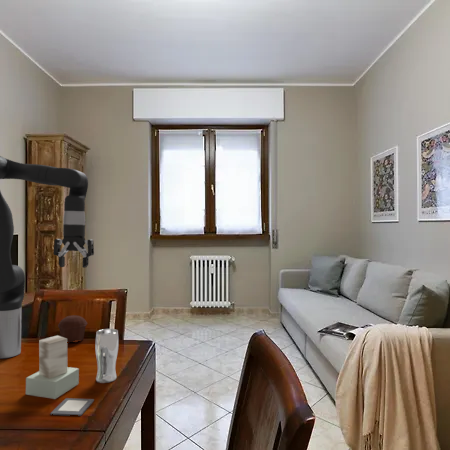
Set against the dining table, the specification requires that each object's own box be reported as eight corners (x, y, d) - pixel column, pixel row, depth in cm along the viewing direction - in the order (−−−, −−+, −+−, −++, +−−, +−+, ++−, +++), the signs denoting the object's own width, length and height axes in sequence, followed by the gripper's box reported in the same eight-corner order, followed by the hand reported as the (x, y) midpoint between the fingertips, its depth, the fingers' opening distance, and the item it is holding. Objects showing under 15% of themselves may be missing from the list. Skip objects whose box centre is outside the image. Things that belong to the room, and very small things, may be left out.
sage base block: (25, 395, 101) (25, 377, 101) (51, 380, 110) (51, 364, 110) (55, 400, 98) (55, 382, 98) (78, 384, 108) (78, 368, 108)
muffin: (51, 342, 146) (51, 318, 146) (69, 334, 157) (69, 312, 157) (76, 345, 143) (76, 320, 143) (92, 337, 154) (93, 314, 154)
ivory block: (39, 374, 103) (39, 340, 103) (57, 367, 108) (57, 335, 108) (49, 378, 100) (49, 343, 100) (67, 372, 105) (67, 338, 105)
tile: (50, 414, 90) (50, 412, 90) (65, 399, 98) (65, 397, 98) (81, 415, 89) (81, 413, 89) (94, 400, 97) (94, 398, 97)
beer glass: (122, 376, 114) (123, 329, 114) (108, 385, 107) (109, 335, 107) (104, 373, 116) (105, 327, 116) (89, 381, 109) (90, 333, 110)
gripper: (50, 223, 128) (49, 268, 127) (88, 223, 127) (87, 268, 127) (60, 223, 135) (60, 265, 135) (97, 224, 134) (96, 266, 134)
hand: (73, 267), depth 131 cm, fingers open, 8 cm apart
